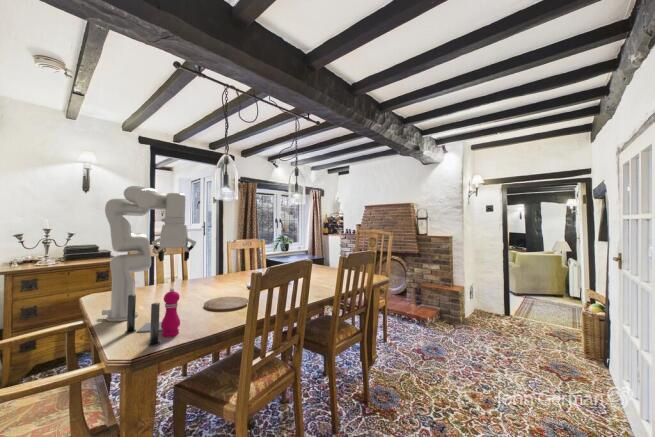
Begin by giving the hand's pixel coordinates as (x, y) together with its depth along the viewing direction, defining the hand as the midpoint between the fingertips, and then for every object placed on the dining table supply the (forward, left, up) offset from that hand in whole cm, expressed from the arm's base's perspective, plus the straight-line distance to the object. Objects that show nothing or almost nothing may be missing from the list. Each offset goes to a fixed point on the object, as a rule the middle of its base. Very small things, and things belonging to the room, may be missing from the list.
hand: (173, 260), depth 118 cm
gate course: (-10, 0, -32) cm, 33 cm away
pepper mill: (0, 0, -32) cm, 32 cm away
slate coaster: (-10, +10, -32) cm, 35 cm away
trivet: (+18, +41, -33) cm, 55 cm away
